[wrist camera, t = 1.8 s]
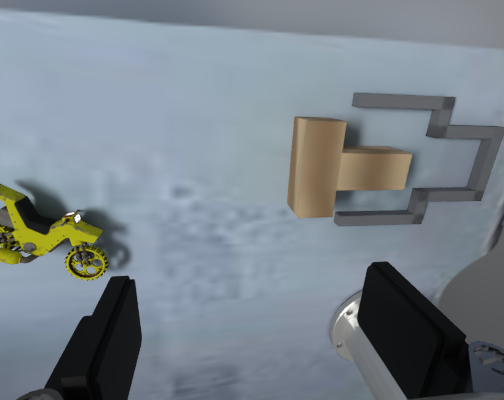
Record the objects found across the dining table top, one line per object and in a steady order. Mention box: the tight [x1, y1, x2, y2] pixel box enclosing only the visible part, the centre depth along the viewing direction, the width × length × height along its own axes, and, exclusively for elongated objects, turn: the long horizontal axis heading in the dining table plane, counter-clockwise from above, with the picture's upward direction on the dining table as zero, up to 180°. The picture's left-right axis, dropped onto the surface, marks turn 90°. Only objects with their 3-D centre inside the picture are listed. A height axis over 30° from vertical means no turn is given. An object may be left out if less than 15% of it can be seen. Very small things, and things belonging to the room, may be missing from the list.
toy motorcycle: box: [0, 184, 109, 281], centre depth 27 cm, size 12×4×7 cm
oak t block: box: [287, 117, 412, 218], centre depth 28 cm, size 10×9×4 cm
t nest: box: [334, 93, 504, 226], centre depth 31 cm, size 17×14×1 cm
